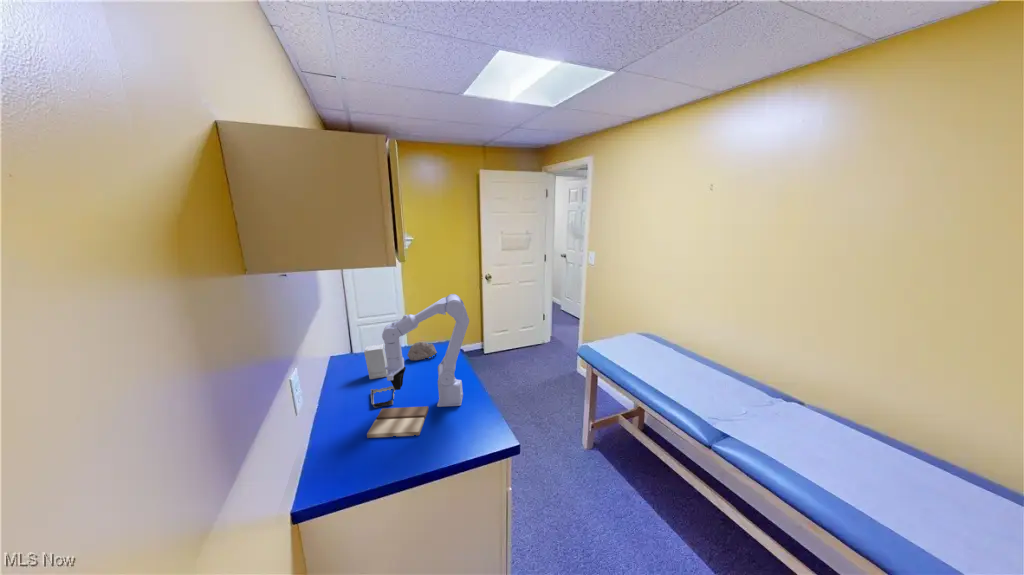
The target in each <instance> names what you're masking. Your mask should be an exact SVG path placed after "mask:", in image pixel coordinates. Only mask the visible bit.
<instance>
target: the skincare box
mask: <svg viewBox="0 0 1024 575" xmlns="http://www.w3.org/2000/svg"><path fill="white" fill-rule="evenodd" d="M363 352H364V358H365V363H366V367H367V372H368V377H369V380H375V379H380V378H387V374H388V372H387V369H385V366H387V359H386V352H385V343H381V344H374V345H373V344H372V345H367V346H365V349H364V351H363Z"/></svg>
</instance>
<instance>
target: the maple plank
mask: <svg viewBox="0 0 1024 575" xmlns="http://www.w3.org/2000/svg"><path fill="white" fill-rule="evenodd" d="M425 420H426V419H424V417H423V418H402V419H381V420H377V419H374V421H373V423H372V425H371V427H370V428H369V429H368V431H367V433H366V437H367V439H369V438H370V439H372V438H390V437H391V438H392V437H393V436H396V437H412V436H414V435H416V436H420V434H421V432H422V430H423V426H424V423H425ZM393 438H394V437H393Z"/></svg>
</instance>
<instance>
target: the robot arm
mask: <svg viewBox="0 0 1024 575" xmlns="http://www.w3.org/2000/svg"><path fill="white" fill-rule="evenodd" d="M446 313H447V314H448V315H449V316H450V317H452V318H453V320H454V321H455V323H454V327H453V330H452V334H451V337H450V338H449V342H448V346H447V348H446V351H445V355H444V357H443V358H442V360H441V362H440V363H439V364H438V366H437V374H438V379H437V389H438V398H439V399H438V401H437V404H436V407H438V408H439V407H440V408H441V407H458V406H459V407H460V406H462V402H463V398H464V392H463V382H462V379H457V378H456V377H455V371H456V366H457V360H458V356H459V355H460V351H461V347H462V345H463V343H464V340H465V336H466V333H467V330H468V327H469V324H470V318H469V316H468V312H467V308H466V306H465V303H464V301H463V300H462V299H461V297H460V296H459V295H457V294H455V293H451V294H448V295H447V296H445V297H442V298H441V299H438V301H437V300H436V302H434V303H432V304H430V305H429V306H427V307H425V308H424V309H422V310H421V311H419V312H417V313H416V314H404V315H403V316H402V318H400V319H399V320H397V321H392V322H391V323H390V324H387V325H386V326H385V327H384V328H383V331H382V334H381V338H382V340H383V344H384V348H385V353H386V359H387V366H385V369H387V372H388V374H387V377H386V380H387V382H388V381H390V383H391V386H393V387H394V389H395V391H398V390H401V388H402V387H403V384H404V376H405V372H406V368H407V367H406V366H405V358H404V357H403V351H402V344H401V339H400V337H403V336H405V335H407V334H408V333H410V332H411V331H414V330H415V329H417V328H418V327H419V324H420V323H421V322H424V321H425V320H427V319H430V318H431V317H434V316H435V315H443V316H444V315H445V316H446ZM394 389H393V390H394Z"/></svg>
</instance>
